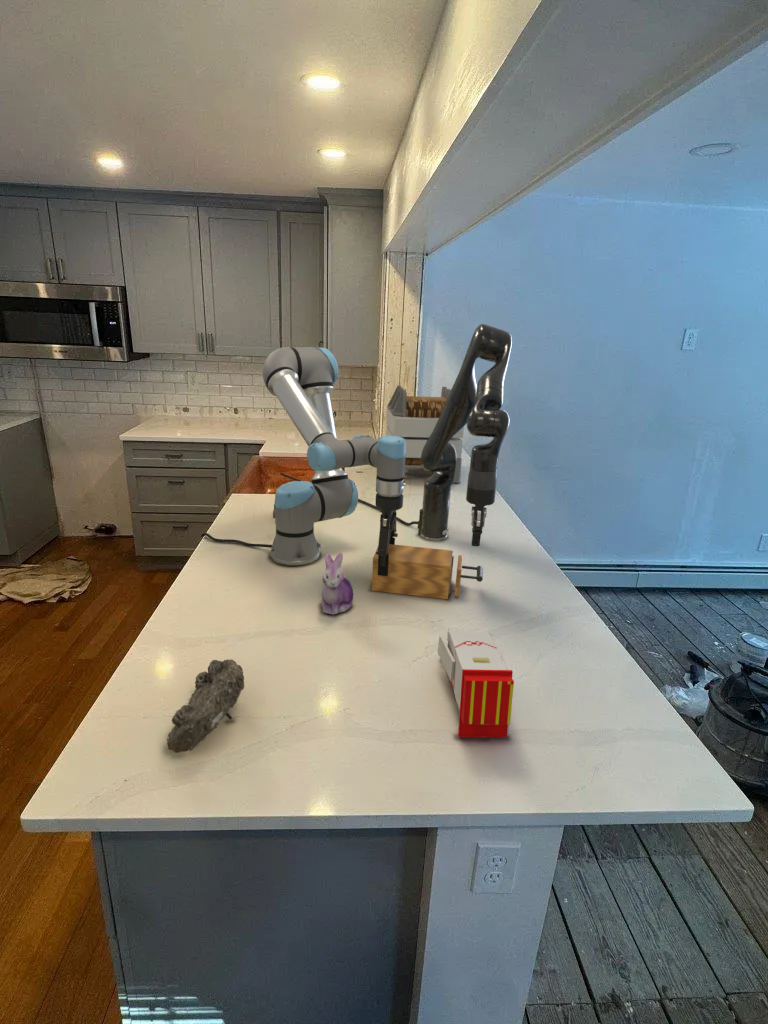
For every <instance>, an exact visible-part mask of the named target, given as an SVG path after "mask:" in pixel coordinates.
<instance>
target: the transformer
mask: <svg viewBox="0 0 768 1024" xmlns="http://www.w3.org/2000/svg"><path fill="white" fill-rule="evenodd" d="M450 391H451V388H447V386H442V387H441V392H440V393H441V394H440V396H415V395H414V396H413V395H412V396H411V395H407V394H408V393H407V390H406V389H404V388H403V387H402V385H399V384H398V385H397V386H396V388H395V390H394V392H393V394H392V395H391V398H390V400H389V402H388V404H387V405H386V413H385V414H386V415H385V423H386V428H385V436H399V437H402V438H403V439H404V440H405V441H406V458H405V466H406V467H407V466H411V467H412V466H413V467H415V466H416V467H417V466H418V467H422V465H421V453H422V450H423V448H424V446H425V444H426V442H427V440H428V439H429V437H430V435H431V433H432V432H433V430H434V428H435V426H436V423H437V421H438V419H439V417H440V415H441V413H442V410H443V408H444V405H445V403H446V400H447V398H448V396H449V393H450ZM464 429H465V426H464V427H463V428H462V429H461V430H460V431H459V432H457V433H456V434H455V435H454V436H453V437H452V438H451V439H450V441H449V442H448V443H450V444H452V445H453V446H454V448H455V450H456V456H457V460H456V469H455V475H454V482H453V484H455V483H456V484H459V483H461V472H462V461H463V460H462V453H463V442H464V441H463V440H462V439H463V438H464V431H465V430H464Z"/></svg>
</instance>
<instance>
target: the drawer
mask: <svg viewBox="0 0 768 1024" xmlns="http://www.w3.org/2000/svg"><path fill="white" fill-rule="evenodd" d="M463 557H464V555H462V554H458V557H457V566H456V575H455V576H456V577H455V586H454V597H458V598H459V597H460V589H461V581H462V579H470V580H476V581H477V582H479V583H480V582H482V581H483V579H484V578H483V577H484V576H483V575H484V574H483V572H484V571H483V570H484V569H483V568H484V567H483V565H477V566H470V565H463ZM454 558H455V556H454V555H453V556H452V563H451V572H450V583H449V594H451V590H452V589H451V588H452V581H453V580H452V579H453V569H454V560H455V559H454ZM463 569H465V570H473V571H476V575H465V574H462V571H463Z"/></svg>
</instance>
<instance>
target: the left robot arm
mask: <svg viewBox="0 0 768 1024" xmlns="http://www.w3.org/2000/svg"><path fill="white" fill-rule="evenodd" d="M338 375H339V366H338V362H337V360H336V357H335V355H334V353H332V352H331V351H330V350H329V349H328V348H325V347H320V346H319V347H318V346H301V347H299V346H298V347H297V346H295V347H294V346H293V347H292V346H283V347H279V348H276V349H274V350H273V351H272V352H271V353H269V355H268V356H267V357H266V359H265V361H264V363H263V366H262V379H263V383H264V386H265V387H266V389H267V391H268V392H269V394H270V395H272V396H274V397H276V398H277V399H278V401H279V403H280V404H281V406H282V407H283V410H285V412H286V414H287V415H288V417H289V418H290V420H291V421H292V424H294V427H296V429H297V431H298V432H299V434H300V435H301V437H302V439H303V440H304V442H305V443H306V445H307V446H308V447H307V451H306V460H307V461H308V465H309V467H310V468H311V470H313V471H314V474H313V476H312V477H311V479H310V480H311V481H308V480H302V481H295V480H293V481H289V482H285V483H283V484H281V485H279V486H278V487H277V489H276V490H275V493H274V503H275V519H274V520H275V536H274V537H273V541H272V544H267V543H251V542H246V541H244V540H243V541H242V540H239V539H231V538H230V539H229V538H216V537H214V536H212V535H211V534H209V533H208V532H203V533H202V534H201V535H200V537H201V538H204V537H205V536H206V537H207V538H209V539H210V540H212V541H214V542H216V543H217V542H218V543H236V544H239V545H244V546H247V547H253V548H254V547H255V548H270V553H269V554H270V559H271V561H273V562H274V563H276V564H278V565H281V566H288V567H300V566H307V565H309V564H312V563H315V562H316V561H317V560H318V559H319V558H320V555H321V553H320V549H321V547H322V546H321V545H322V544H321V543H319V542H317V538H316V535H315V528H314V527H315V523H319V522H323V521H329V520H334V519H341V518H344V517H347V516H350V515H352V514H353V513H354V512H355V511H356V509H357V506H358V503H359V501H358V499H359V489H358V487H357V485H356V483H355V481H354V480H352V479H350V478H349V474H348V473H347V472H346V471H345V470H343V469H346V468H354V467H361V466H371V467H373V468H376V476H375V477H376V479H375V492H376V493H375V504H374V506H376V507H377V508H379V509H381V510H383V511H382V512H381V514H380V519H379V535H378V545H377V548H378V552H376V551H375V552H376V554H378V555H379V557H378V575H380V576H388V561H389V554H388V549H389V544H394V545H396V538H398V537H399V534H398V533H397V520H396V517H397V515H398V514H397V511H399V510H401V509H402V508H403V506H404V489H405V487H406V486H407V483H406V482H404V481H405V473H406V472H405V471H406V465H405V458H406V441H405V440H404V439H403V438H402V437H399V436H386V435H381V436H380V437H378V438H376V437H373V436H371V435H368V434H357V435H356V436H354V437H353V438H352V439H342V440H341V439H340V440H338V437H337V432H336V425H335V417H334V413H333V407H332V401H331V393H332V391H333V390H334V384H335V383H336V382H337V381H338Z"/></svg>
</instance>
